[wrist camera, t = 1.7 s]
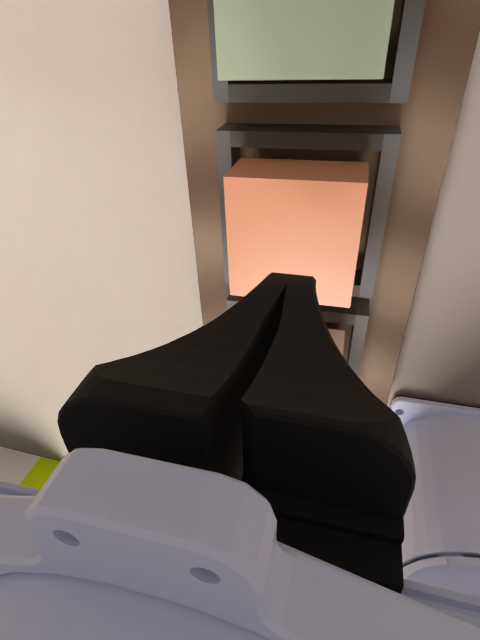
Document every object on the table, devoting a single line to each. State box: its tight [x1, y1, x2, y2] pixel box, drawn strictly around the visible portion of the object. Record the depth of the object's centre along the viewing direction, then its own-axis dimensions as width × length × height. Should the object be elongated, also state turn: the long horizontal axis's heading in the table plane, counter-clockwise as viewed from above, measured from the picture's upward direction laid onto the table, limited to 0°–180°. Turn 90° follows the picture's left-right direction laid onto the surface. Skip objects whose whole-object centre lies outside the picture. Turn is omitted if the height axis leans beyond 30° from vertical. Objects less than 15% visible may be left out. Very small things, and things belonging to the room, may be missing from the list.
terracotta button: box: [223, 158, 369, 308], centre depth 17 cm, size 5×5×2 cm
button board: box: [169, 0, 480, 405], centre depth 19 cm, size 24×11×3 cm, turn 2°
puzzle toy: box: [0, 447, 60, 490], centre depth 42 cm, size 10×10×10 cm
